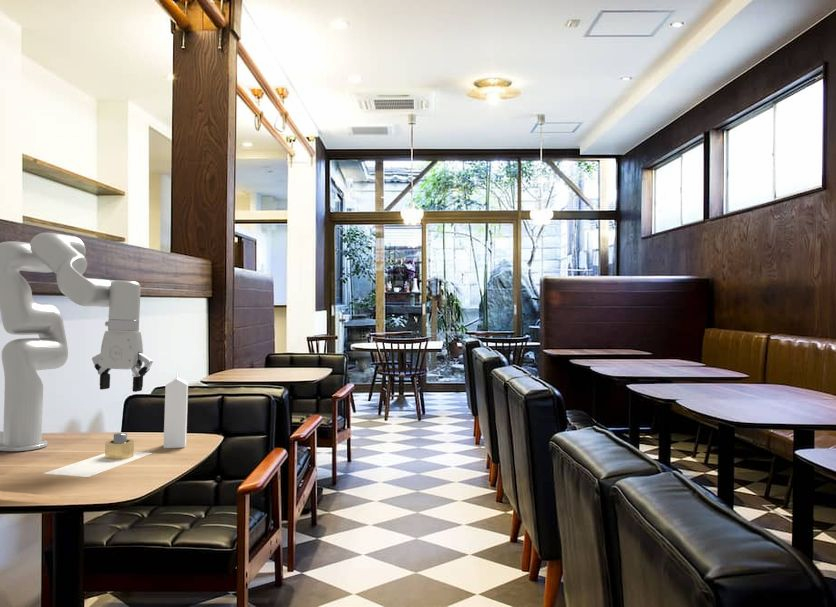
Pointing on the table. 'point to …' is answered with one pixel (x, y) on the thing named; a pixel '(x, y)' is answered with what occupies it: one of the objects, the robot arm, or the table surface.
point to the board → (94, 465)
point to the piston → (120, 438)
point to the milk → (175, 413)
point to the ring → (119, 449)
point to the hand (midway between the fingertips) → (120, 390)
